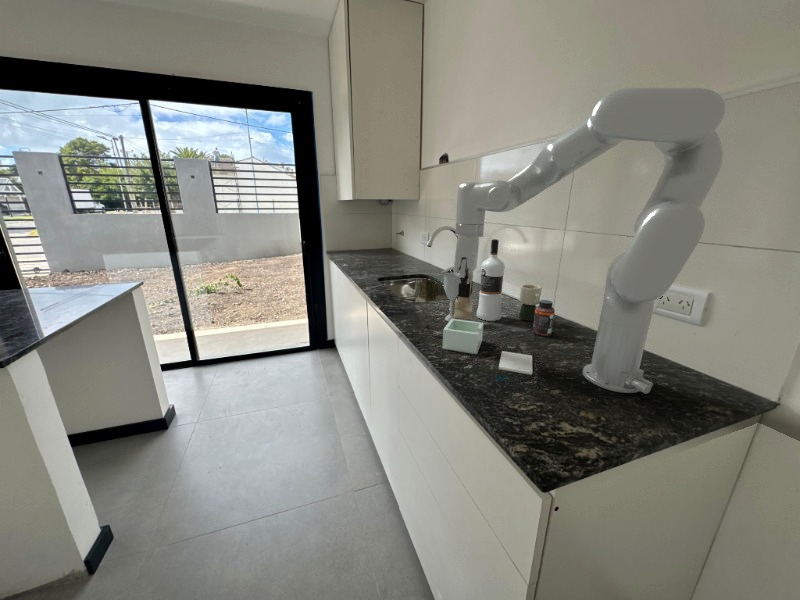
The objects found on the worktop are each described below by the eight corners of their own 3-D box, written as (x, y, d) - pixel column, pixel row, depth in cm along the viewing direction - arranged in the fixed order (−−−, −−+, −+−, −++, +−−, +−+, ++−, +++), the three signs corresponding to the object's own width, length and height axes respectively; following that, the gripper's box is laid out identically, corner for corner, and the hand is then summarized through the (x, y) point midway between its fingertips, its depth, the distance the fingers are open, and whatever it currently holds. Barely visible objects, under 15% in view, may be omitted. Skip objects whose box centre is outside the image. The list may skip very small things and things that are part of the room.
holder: (481, 343, 98) (483, 322, 96) (476, 357, 89) (478, 334, 88) (450, 339, 102) (451, 318, 100) (442, 351, 93) (443, 329, 91)
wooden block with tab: (472, 317, 94) (476, 271, 90) (470, 320, 91) (474, 273, 87) (455, 315, 96) (458, 269, 91) (453, 318, 93) (456, 271, 89)
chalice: (437, 319, 119) (439, 273, 114) (452, 317, 122) (454, 271, 117) (448, 326, 113) (450, 277, 108) (463, 323, 116) (466, 275, 111)
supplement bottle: (554, 336, 104) (559, 304, 100) (536, 336, 104) (540, 304, 101) (547, 330, 109) (551, 298, 106) (529, 330, 109) (533, 298, 106)
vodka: (505, 321, 118) (513, 240, 110) (481, 322, 117) (488, 240, 108) (494, 313, 127) (501, 238, 118) (472, 314, 126) (478, 238, 117)
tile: (532, 355, 87) (532, 372, 78) (531, 362, 87) (531, 379, 79) (502, 351, 90) (498, 366, 81) (501, 357, 90) (498, 374, 81)
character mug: (544, 324, 115) (548, 289, 111) (526, 325, 114) (530, 290, 110) (528, 314, 125) (532, 282, 122) (511, 315, 124) (515, 283, 121)
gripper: (461, 228, 95) (458, 287, 100) (448, 232, 80) (445, 301, 85) (487, 229, 92) (482, 290, 97) (478, 233, 77) (473, 304, 83)
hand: (465, 294), depth 91 cm, fingers closed on wooden block with tab, 3 cm apart
